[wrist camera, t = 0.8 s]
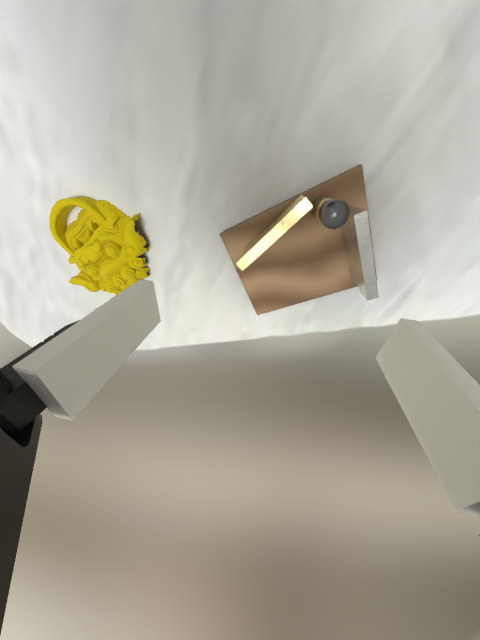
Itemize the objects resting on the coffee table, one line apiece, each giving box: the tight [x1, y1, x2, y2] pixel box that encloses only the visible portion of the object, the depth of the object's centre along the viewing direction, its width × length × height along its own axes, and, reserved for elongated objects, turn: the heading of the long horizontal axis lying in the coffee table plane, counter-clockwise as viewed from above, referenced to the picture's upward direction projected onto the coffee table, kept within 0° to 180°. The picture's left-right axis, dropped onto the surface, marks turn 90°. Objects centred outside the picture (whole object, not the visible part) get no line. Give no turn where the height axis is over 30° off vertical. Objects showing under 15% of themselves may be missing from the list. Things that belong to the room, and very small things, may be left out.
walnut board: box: [220, 164, 377, 315], centre depth 30 cm, size 15×19×1 cm
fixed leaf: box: [312, 197, 379, 300], centre depth 24 cm, size 12×4×9 cm, turn 25°
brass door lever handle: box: [236, 195, 332, 271], centre depth 25 cm, size 12×4×7 cm, turn 135°
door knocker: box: [50, 197, 150, 295], centre depth 35 cm, size 17×16×4 cm
